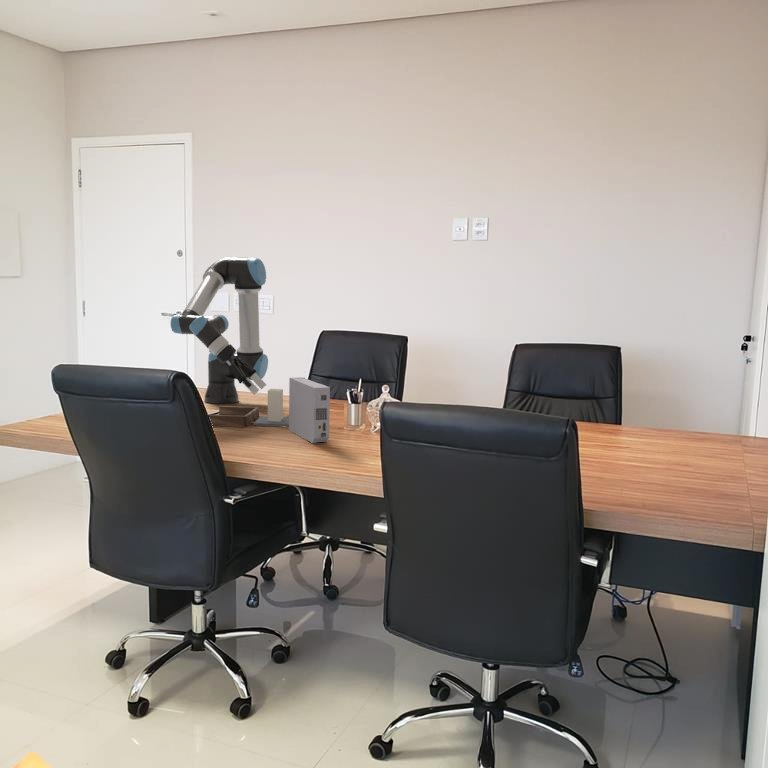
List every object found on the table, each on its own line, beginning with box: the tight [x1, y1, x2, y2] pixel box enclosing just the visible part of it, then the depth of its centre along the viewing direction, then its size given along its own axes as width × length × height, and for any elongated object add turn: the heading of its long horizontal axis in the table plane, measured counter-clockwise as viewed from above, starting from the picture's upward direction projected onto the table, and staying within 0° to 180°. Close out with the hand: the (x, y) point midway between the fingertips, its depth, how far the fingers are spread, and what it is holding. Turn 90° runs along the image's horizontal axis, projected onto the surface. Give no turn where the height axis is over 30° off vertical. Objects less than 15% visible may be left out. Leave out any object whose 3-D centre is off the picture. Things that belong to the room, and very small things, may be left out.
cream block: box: [267, 388, 284, 422], centre depth 302 cm, size 5×5×12 cm
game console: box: [288, 376, 331, 444], centre depth 277 cm, size 6×27×20 cm, turn 25°
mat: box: [252, 415, 289, 428], centre depth 303 cm, size 15×14×1 cm
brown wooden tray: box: [208, 405, 260, 428], centre depth 304 cm, size 21×16×4 cm
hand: (260, 389), depth 301 cm, fingers open, 13 cm apart
